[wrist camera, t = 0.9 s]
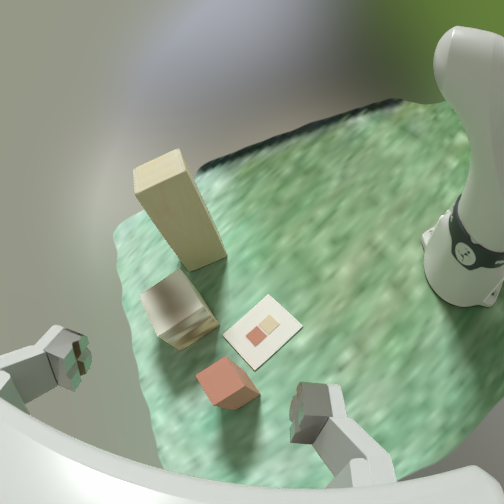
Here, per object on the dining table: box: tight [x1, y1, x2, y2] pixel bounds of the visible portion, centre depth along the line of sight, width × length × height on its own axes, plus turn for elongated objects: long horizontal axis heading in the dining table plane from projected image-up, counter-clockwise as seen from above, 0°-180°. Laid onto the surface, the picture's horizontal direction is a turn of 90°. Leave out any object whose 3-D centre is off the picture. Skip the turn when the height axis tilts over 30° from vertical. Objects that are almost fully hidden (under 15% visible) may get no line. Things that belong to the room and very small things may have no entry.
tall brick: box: [195, 356, 261, 410], centre depth 37 cm, size 4×4×10 cm
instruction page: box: [223, 294, 303, 370], centre depth 46 cm, size 10×8×1 cm
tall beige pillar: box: [133, 149, 227, 272], centre depth 48 cm, size 8×7×21 cm
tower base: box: [139, 269, 220, 351], centre depth 46 cm, size 8×8×8 cm
